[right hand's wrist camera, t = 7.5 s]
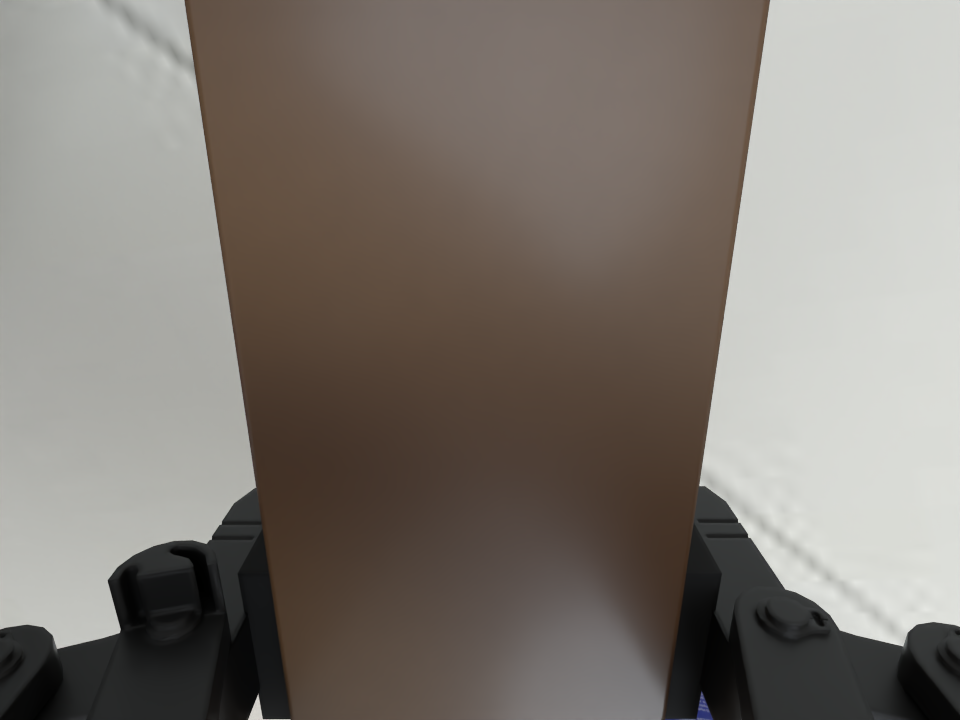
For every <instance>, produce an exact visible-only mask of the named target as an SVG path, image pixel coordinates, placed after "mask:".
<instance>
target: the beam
mask: <svg viewBox="0 0 960 720" xmlns="http://www.w3.org/2000/svg"><path fill="white" fill-rule="evenodd" d="M769 3H770V0H185V6H186V13H187V20H188V27H189V34H190V40H191V47H192V54H193V61H194V67H195V74H196V81H197V88H198V95H199V101H200V108H201V115H202V122H203V128H204V135H205V142H206V149H207V156H208V162H209V169H210V176H211V183H212V190H213V196H214V203H215V210H216V217H217V223H218V230H219V237H220V244H221V251H222V257H223V264H224V271H225V278H226V285H227V291H228V298H229V305H230V312H231V318H232V325H233V332H234V339H235V346H236V352H237V359H238V366H239V373H240V379H241V386H242V393H243V400H244V407H245V413H246V420H247V427H248V434H249V441H250V447H251V454H252V461H253V468H254V474H255V481H256V488H257V495H258V502H259V508H260V515H261V522H262V529H263V536H264V542H265V549H266V556H267V563H268V569H269V576H270V583H271V590H272V597H273V603H274V610H275V617H276V624H277V630H278V637H279V644H280V651H281V658H282V664H283V671H284V678H285V685H286V692H287V698H288V705H289V712H290V719H291V720H665V715H666V708H667V702H668V695H669V688H670V681H671V674H672V667H673V661H674V654H675V647H676V640H677V633H678V626H679V619H680V613H681V606H682V599H683V592H684V585H685V578H686V572H687V565H688V558H689V551H690V544H691V537H692V530H693V524H694V517H695V510H696V503H697V496H698V489H699V482H700V476H701V469H702V462H703V455H704V448H705V441H706V435H707V428H708V421H709V414H710V407H711V400H712V393H713V387H714V380H715V373H716V366H717V359H718V352H719V345H720V339H721V332H722V325H723V318H724V311H725V304H726V298H727V291H728V284H729V277H730V270H731V263H732V256H733V250H734V243H735V236H736V229H737V222H738V215H739V209H740V202H741V195H742V188H743V181H744V174H745V167H746V161H747V154H748V147H749V140H750V133H751V126H752V119H753V113H754V106H755V99H756V92H757V85H758V78H759V72H760V65H761V58H762V51H763V44H764V37H765V30H766V24H767V17H768V10H769Z"/></svg>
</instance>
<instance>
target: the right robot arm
mask: <svg viewBox="0 0 960 720" xmlns="http://www.w3.org/2000/svg"><path fill="white" fill-rule="evenodd" d="M108 584H109V587H110V591H111V595H112V598H113V602H114V606H115V610H116V613H117V617H118V621H119V624H120V628H121V632H120V633H119V634H115V635H112V636H109V637H106V638H102V639H98V640H94V641H89V642H85V643H81V644H77V645H72V646H68V647H64V648H60V649H57V648H56V645H55V642H54V639H53V636H52V635H51V634H50V633H49V632H48V631H47V630H46V629H45V628H44V627H38V626H32V625H22V626H15V627H8V628H4V629H1V630H0V720H248V718H249V716H250V713H251V711H252V708H253V706H254V703H255V701H256V698H257V695H258V693H259V699H260V705H261V710H262V716H263V719H290V712H289V705H288V698H287V692H286V685H285V678H284V671H283V664H282V658H281V651H280V644H279V637H278V630H277V624H276V617H275V610H274V603H273V597H272V590H271V583H270V576H269V569H268V563H267V556H266V549H265V542H264V536H263V529H262V522H261V515H260V508H259V502H258V495H257V488H255V489H253V490H252V491H251V492H249V493H248V494H247V495H245V496H244V497H242V498H241V499H240V500H238V501H237V502H236V503H234V504H233V506H232V507H231V509H230V510H229V512H228V513H227V515H226V516H225V518H224V519H223V521H222V525H219V527H218V528H217V530H216V531H215V533H214V534H213V536H212V540H209V542H208V543H207V544H204V543H200V542H196V541H173V542H169V543H165V544H161V545H157V546H153V547H151V548H149V549H146V550H144V551H142V552H140V553H138V554H136V555H134V556H132V557H131V558H130V559H128V560H127V561H125V562H124V563H123V564H121V565H120V566H119V567H118V568H117V569H116V570H115V572H114V573H113V574H112V576H111V577H110V578H109V579H108ZM701 691H702V693H703V696H704V698H705V701H706V703H707V706H708V708H709V711H710V713H711V716H712V718H713V720H960V627H958V626H955V625H950V624H943V623H936V622H931V623H925V624H918V625H916V626H915V627H914V628H913V629H912V630H910V631H909V632H908V634H907V637H906V640H905V643H904V646H898V645H894V644H890V643H885V642H881V641H877V640H873V639H868V638H864V637H860V636H856V635H853V634H849V633H846V632H843V631H840V630H839V628H838V627H837V625H836V624H835V622H834V621H833V619H832V618H831V616H830V615H829V614H828V613H827V612H825V611H824V610H823V609H822V608H821V607H820V606H818V605H817V604H816V603H815V602H813V601H811V600H809V599H807V598H805V597H803V596H801V595H800V594H798V593H796V592H792V591H788V590H785V588H784V587H783V585H782V584H781V583H780V581H779V580H778V578H777V577H776V575H775V574H774V572H773V571H772V569H771V568H770V566H769V565H768V563H767V562H766V560H765V559H764V557H763V556H762V554H761V553H760V551H759V550H758V548H757V547H756V545H755V544H754V543H753V541H752V540H751V538H748V534H747V532H746V531H745V529H744V528H743V526H742V525H741V523H738V519H737V517H736V516H735V514H734V513H733V511H732V510H731V508H730V507H729V505H728V504H727V503H726V501H724V500H723V499H722V498H720V497H719V496H717V495H716V494H715V493H713V492H712V491H711V490H709V489H708V488H706V487H705V486H699V489H698V496H697V503H696V510H695V517H694V524H693V530H692V537H691V544H690V551H689V558H688V565H687V572H686V578H685V585H684V592H683V599H682V606H681V613H680V619H679V626H678V633H677V640H676V647H675V654H674V661H673V667H672V674H671V681H670V688H669V695H668V702H667V708H666V715H665V719H697V714H698V708H699V703H700V697H701Z"/></svg>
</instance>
